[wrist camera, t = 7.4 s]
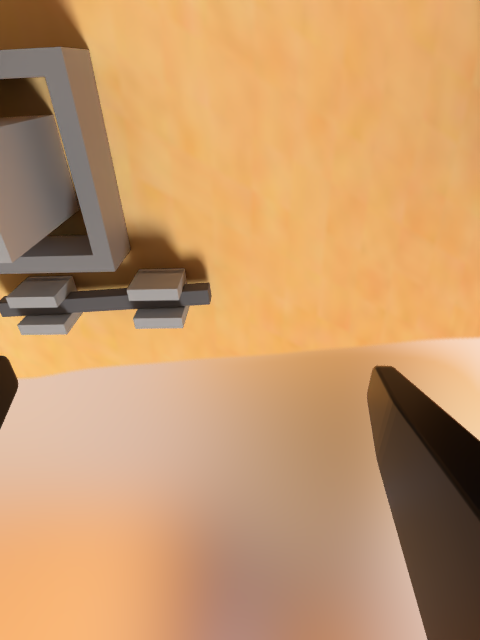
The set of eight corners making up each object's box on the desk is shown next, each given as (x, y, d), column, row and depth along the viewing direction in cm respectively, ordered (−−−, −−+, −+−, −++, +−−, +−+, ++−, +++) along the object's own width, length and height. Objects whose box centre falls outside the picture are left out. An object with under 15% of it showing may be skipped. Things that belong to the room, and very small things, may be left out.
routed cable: (210, 267, 20) (205, 288, 18) (214, 309, 21) (209, 332, 19) (2, 272, 20) (-24, 292, 18) (18, 312, 22) (-4, 335, 20)
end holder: (88, 49, 15) (52, 46, 12) (130, 249, 19) (111, 277, 17) (-114, 60, 15) (-189, 59, 13) (-27, 253, 20) (-70, 281, 17)
